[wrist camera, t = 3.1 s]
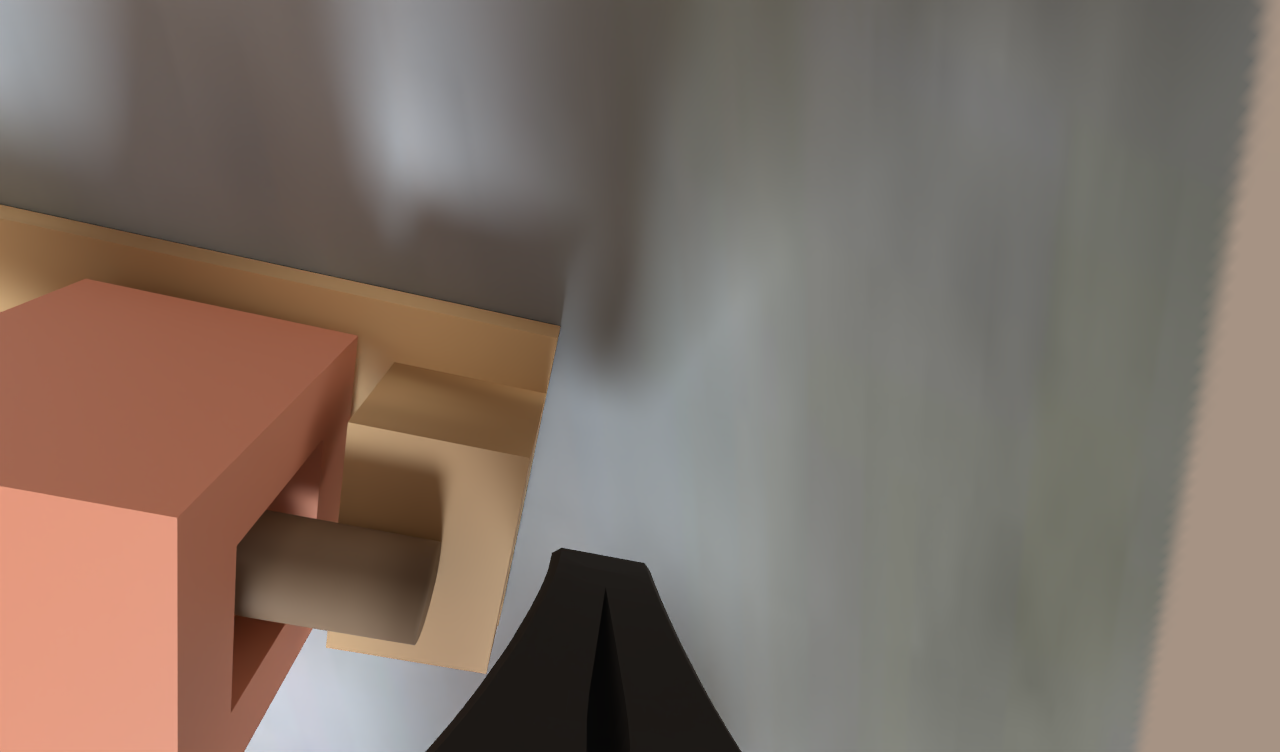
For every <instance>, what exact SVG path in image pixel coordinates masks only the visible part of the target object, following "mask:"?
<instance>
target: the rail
mask: <svg viewBox="0 0 1280 752" xmlns="http://www.w3.org/2000/svg"><path fill="white" fill-rule="evenodd" d="M84 279H90V280H95V281H100V282H105V283H110V284H114V285H119V286H124V287H129V288H133V289H138V290H143V291H148V292H152V293H157V294H162V295H167V296H172V297H176V298H181V299H186V300H191V301H195V302H200V303H205V304H210V305H214V306H219V307H224V308H229V309H233V310H238V311H243V312H248V313H253V314H257V315H262V316H267V317H272V318H276V319H281V320H286V321H291V322H295V323H300V324H305V325H310V326H315V327H319V328H324V329H329V330H334V331H338V332H343V333H348V334H353V335H357V336H358V342H357V352H356V362H355V373H354V383H353V393H352V403H351V414H350V420H349V421H348V426H347V436H346V446H345V457H344V467H343V478H342V488H341V498H340V509H339V519H338V523H336V522H331V521H325V520H320V519H314V518H309V517H304V516H298V515H293V514H287V513H282V512H276V511H271V510H265V512H264V513H263V514H262V515H261V516H260V518H259V519H258V520H257V521H256V523H255V524H254V525H253V526H252V528H251V529H250V530H249V531H248V532H247V534H246V535H245V536H244V537H243V539H242V540H241V541H240V542H239V544H238V545H237V550H236V579H235V608H234V615H236V616H242V617H248V618H254V619H260V620H266V621H272V622H278V623H284V624H290V625H296V626H302V627H308V628H314V629H320V630H326V631H328V633H327V644H326V648H332V649H339V650H345V651H351V652H357V653H363V654H369V655H375V656H381V657H387V658H393V659H399V660H405V661H411V662H417V663H423V664H429V665H435V666H441V667H447V668H454V669H460V670H466V671H472V672H478V673H484V674H486V672H487V668H488V663H489V659H490V655H491V650H492V646H493V642H494V637H495V633H496V629H497V626H498V624H499V620H500V615H501V611H502V606H503V602H504V597H505V592H506V587H507V582H508V578H509V573H510V568H511V563H512V558H513V554H514V549H515V544H516V539H517V534H518V529H519V525H520V520H521V515H522V510H523V505H524V500H525V496H526V491H527V486H528V481H529V476H530V471H531V467H532V462H533V457H534V452H535V447H536V442H537V438H538V433H539V428H540V423H541V418H542V413H543V409H544V404H545V399H546V394H547V389H548V385H549V380H550V375H551V370H552V365H553V360H554V356H555V351H556V346H557V341H558V336H559V331H560V327H561V326H557V325H553V324H548V323H543V322H539V321H534V320H530V319H525V318H520V317H516V316H511V315H506V314H502V313H497V312H493V311H488V310H483V309H479V308H474V307H470V306H465V305H460V304H456V303H451V302H447V301H442V300H437V299H433V298H428V297H424V296H419V295H414V294H410V293H405V292H401V291H396V290H391V289H387V288H382V287H378V286H373V285H368V284H364V283H359V282H355V281H350V280H345V279H341V278H336V277H332V276H327V275H322V274H318V273H313V272H309V271H304V270H299V269H295V268H290V267H286V266H281V265H276V264H272V263H267V262H263V261H258V260H253V259H249V258H244V257H240V256H235V255H230V254H226V253H221V252H216V251H212V250H207V249H203V248H198V247H193V246H189V245H184V244H180V243H175V242H170V241H166V240H161V239H157V238H152V237H147V236H143V235H138V234H134V233H129V232H124V231H120V230H115V229H111V228H106V227H101V226H97V225H92V224H88V223H83V222H78V221H74V220H69V219H65V218H60V217H55V216H51V215H46V214H42V213H37V212H32V211H28V210H23V209H19V208H14V207H9V206H5V205H0V312H2V311H5V310H7V309H10V308H12V307H15V306H18V305H20V304H23V303H25V302H28V301H30V300H33V299H35V298H38V297H40V296H43V295H45V294H48V293H51V292H53V291H56V290H58V289H61V288H63V287H66V286H68V285H71V284H73V283H76V282H78V281H81V280H84Z"/></svg>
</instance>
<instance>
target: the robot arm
mask: <svg viewBox="0 0 1280 752" xmlns="http://www.w3.org/2000/svg"><path fill="white" fill-rule="evenodd" d="M426 752H741V750H740V749H739V747H738V746H737V744H736V742H735V741H734V739H733V738H732V736H731V734H730V733H729V731H728V729H727V728H726V726H725V724H724V723H723V721H722V719H721V718H720V716H719V714H718V712H717V711H716V709H715V707H714V706H713V704H712V702H711V700H710V698H709V697H708V695H707V693H706V691H705V689H704V688H703V686H702V684H701V682H700V680H699V678H698V676H697V674H696V672H695V670H694V668H693V666H692V664H691V663H690V661H689V659H688V657H687V655H686V653H685V651H684V649H683V647H682V645H681V643H680V641H679V638H678V636H677V634H676V632H675V630H674V628H673V626H672V623H671V621H670V619H669V617H668V614H667V612H666V610H665V608H664V605H663V603H662V601H661V598H660V596H659V593H658V591H657V588H656V586H655V583H654V581H653V578H652V576H651V573H650V571H649V569H648V568H647V566H646V565H645V563H641V562H635V561H630V560H624V559H619V558H614V557H608V556H603V555H597V554H592V553H587V552H581V551H576V550H570V549H565V548H560V549H559V550H557V551H555V552H553V553H552V556H551V560H550V565H549V569H548V572H547V574H546V577H545V579H544V582H543V584H542V586H541V588H540V591H539V592H538V594H537V596H536V598H535V600H534V602H533V604H532V606H531V608H530V610H529V612H528V613H527V615H526V617H525V618H524V620H523V622H522V623H521V625H520V627H519V628H518V630H517V632H516V633H515V635H514V637H513V638H512V640H511V642H510V643H509V645H508V646H507V648H506V649H505V651H504V652H503V654H502V655H501V656H500V658H499V659H498V661H497V662H496V664H495V665H494V666H493V668H492V669H491V671H490V672H489V673H488V675H487V676H486V678H485V679H484V680H483V682H482V683H481V685H480V686H479V688H478V689H477V690H476V692H475V693H474V694H473V695H472V697H471V698H470V699H469V701H468V702H467V703H466V704H465V706H464V707H463V708H462V710H461V711H460V712H459V713H458V714H457V716H456V717H455V718H454V719H453V721H452V722H451V723H450V724H449V725H448V727H447V728H446V729H445V730H444V731H443V732H442V734H441V735H440V736H439V737H438V738H437V739H436V741H435V742H434V743H433V744H432V745H431V746H430V748H429V749H428V750H427V751H426Z"/></svg>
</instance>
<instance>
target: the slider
mask: <svg viewBox="0 0 1280 752" xmlns="http://www.w3.org/2000/svg"><path fill="white" fill-rule="evenodd" d="M357 342H358V336H357V335H353V334H348V333H343V332H338V331H334V330H329V329H324V328H319V327H315V326H310V325H305V324H300V323H295V322H291V321H286V320H281V319H276V318H272V317H267V316H262V315H257V314H253V313H248V312H243V311H238V310H233V309H229V308H224V307H219V306H214V305H210V304H205V303H200V302H195V301H191V300H186V299H181V298H176V297H172V296H167V295H162V294H157V293H152V292H148V291H143V290H138V289H133V288H129V287H124V286H119V285H114V284H110V283H105V282H100V281H95V280H90V279H84V280H81V281H78V282H76V283H73V284H71V285H68V286H66V287H63V288H61V289H58V290H56V291H53V292H51V293H48V294H45V295H43V296H40V297H38V298H35V299H33V300H30V301H28V302H25V303H23V304H20V305H18V306H15V307H12V308H10V309H7V310H5V311H2V312H0V752H244V751H245V749H246V747H247V745H248V743H249V742H250V740H251V738H252V736H253V735H254V733H255V731H256V729H257V727H258V726H259V724H260V722H261V720H262V718H263V717H264V715H265V713H266V711H267V709H268V708H269V706H270V704H271V702H272V700H273V699H274V697H275V695H276V693H277V691H278V690H279V688H280V686H281V684H282V682H283V681H284V679H285V677H286V675H287V673H288V672H289V670H290V668H291V666H292V664H293V663H294V661H295V659H296V657H297V655H298V654H299V652H300V650H301V648H302V647H303V645H304V643H305V641H306V639H307V638H308V636H309V634H310V632H311V630H312V629H313V628H308V627H302V626H296V625H290V624H284V623H278V622H272V621H266V620H260V619H254V618H248V617H242V616H236V615H234V608H235V579H236V550H237V545H238V544H239V542H240V541H241V540H242V539H243V537H244V536H245V535H246V534H247V532H248V531H249V530H250V529H251V528H252V526H253V525H254V524H255V523H256V521H257V520H258V519H259V518H260V516H261V515H262V514H263V513H264V512H265V510H271V511H276V512H282V513H287V514H293V515H298V516H304V517H309V518H314V519H320V520H325V521H331V522H336V523H338V519H339V509H340V498H341V488H342V478H343V467H344V457H345V446H346V436H347V426H348V421H349V420H350V414H351V403H352V393H353V383H354V373H355V362H356V352H357Z"/></svg>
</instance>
